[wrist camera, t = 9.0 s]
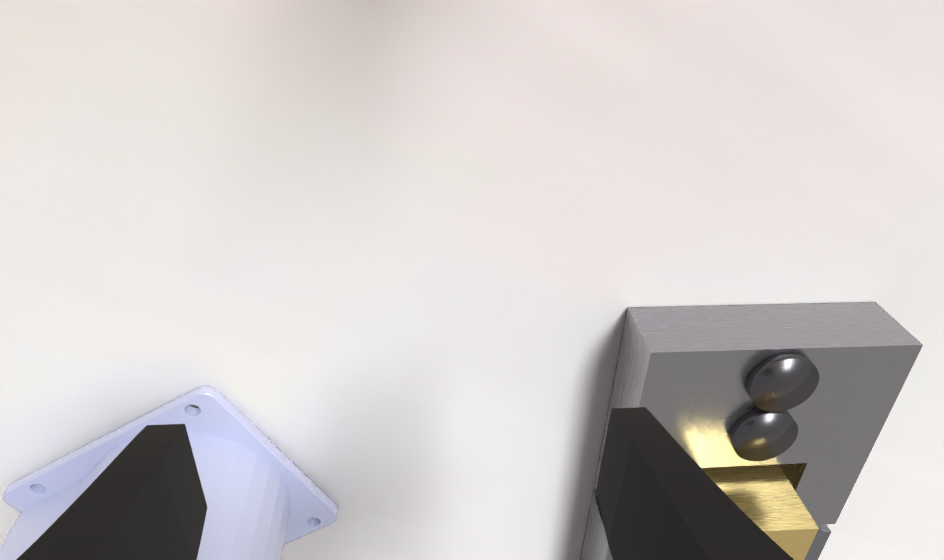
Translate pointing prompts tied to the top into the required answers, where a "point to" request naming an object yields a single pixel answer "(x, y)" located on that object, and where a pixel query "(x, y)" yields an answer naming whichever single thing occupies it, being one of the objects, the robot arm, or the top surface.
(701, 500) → the robot arm
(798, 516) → the brass rectangular block
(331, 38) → the top surface
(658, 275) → the top surface
